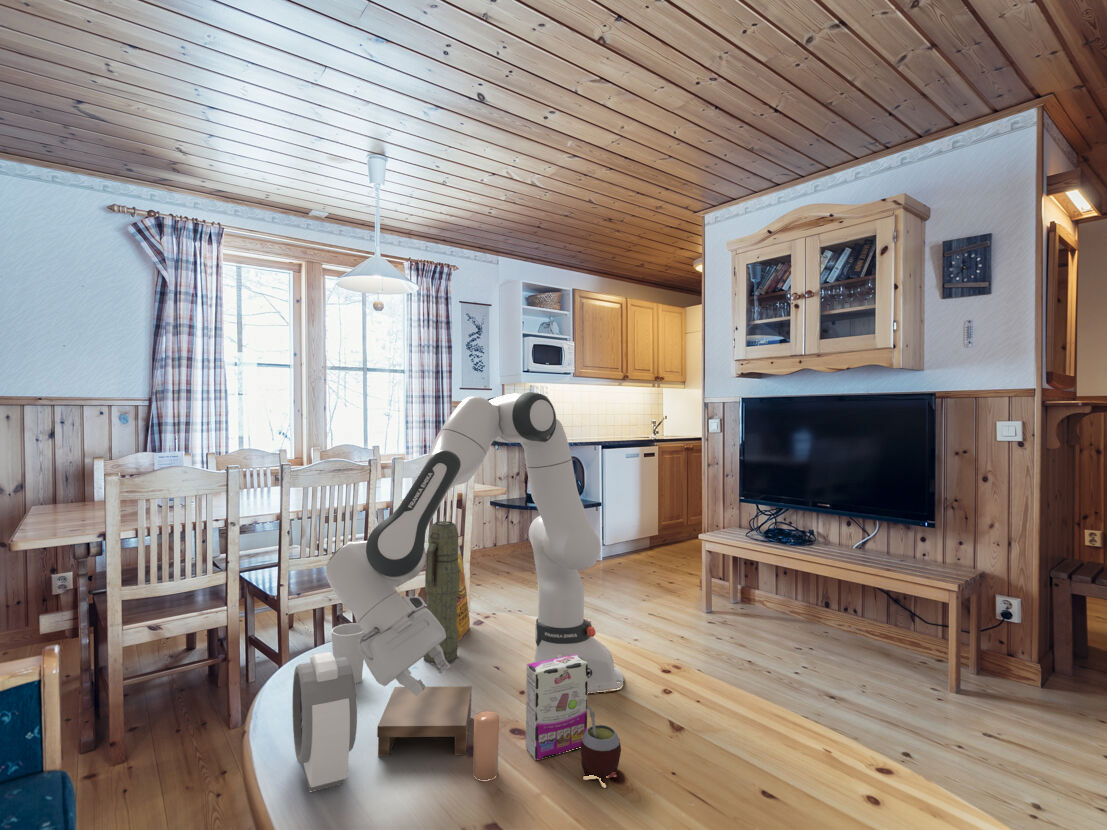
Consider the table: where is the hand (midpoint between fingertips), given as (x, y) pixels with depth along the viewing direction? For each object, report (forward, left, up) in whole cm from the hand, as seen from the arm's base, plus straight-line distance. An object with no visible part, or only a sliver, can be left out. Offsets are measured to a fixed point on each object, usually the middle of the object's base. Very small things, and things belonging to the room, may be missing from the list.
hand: (433, 680), depth 109 cm
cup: (+24, -34, -15) cm, 45 cm away
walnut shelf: (+2, -9, -15) cm, 18 cm away
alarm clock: (+19, +2, -15) cm, 24 cm away
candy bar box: (-23, -4, -15) cm, 28 cm away
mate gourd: (-30, +6, -15) cm, 34 cm away
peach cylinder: (-10, +4, -15) cm, 18 cm away
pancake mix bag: (+2, -64, -15) cm, 66 cm away
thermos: (+4, -47, -15) cm, 50 cm away
